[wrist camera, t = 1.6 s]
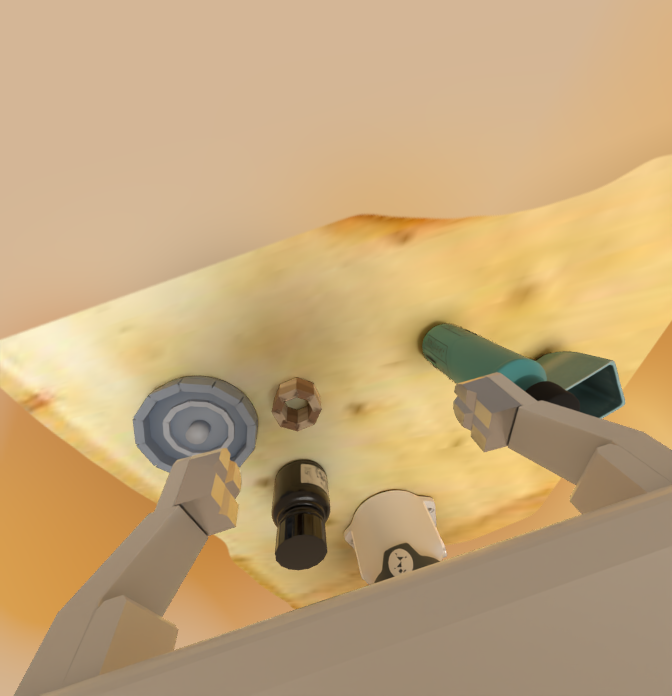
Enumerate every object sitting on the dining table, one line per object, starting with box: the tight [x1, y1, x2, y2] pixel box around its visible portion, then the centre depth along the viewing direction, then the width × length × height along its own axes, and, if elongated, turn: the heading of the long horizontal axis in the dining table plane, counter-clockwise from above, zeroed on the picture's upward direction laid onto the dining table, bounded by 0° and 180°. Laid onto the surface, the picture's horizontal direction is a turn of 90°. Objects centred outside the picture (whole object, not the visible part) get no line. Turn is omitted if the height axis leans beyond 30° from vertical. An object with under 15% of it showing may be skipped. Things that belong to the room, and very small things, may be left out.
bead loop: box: [272, 377, 322, 431], centre depth 38 cm, size 6×6×4 cm
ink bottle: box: [272, 460, 330, 570], centre depth 39 cm, size 10×9×12 cm
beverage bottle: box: [422, 323, 580, 412], centre depth 30 cm, size 6×7×20 cm
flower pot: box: [536, 352, 625, 419], centre depth 40 cm, size 9×9×9 cm
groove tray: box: [133, 376, 258, 473], centre depth 38 cm, size 16×16×3 cm
